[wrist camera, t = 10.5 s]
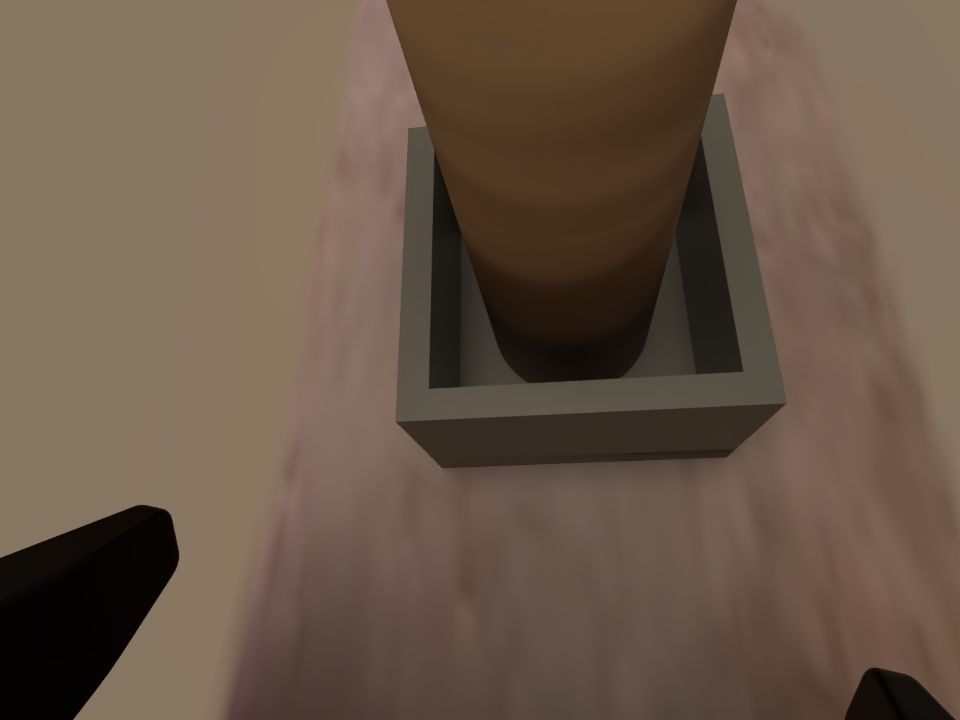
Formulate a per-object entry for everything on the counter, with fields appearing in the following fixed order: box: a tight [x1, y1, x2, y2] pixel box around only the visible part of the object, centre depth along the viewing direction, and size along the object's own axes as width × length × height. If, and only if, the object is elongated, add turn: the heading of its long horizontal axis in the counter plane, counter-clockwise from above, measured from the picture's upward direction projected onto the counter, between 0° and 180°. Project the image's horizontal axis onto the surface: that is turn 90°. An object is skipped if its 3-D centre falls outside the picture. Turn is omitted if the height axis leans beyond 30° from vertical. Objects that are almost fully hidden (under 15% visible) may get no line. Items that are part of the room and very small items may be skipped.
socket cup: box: [396, 94, 787, 468], centre depth 16 cm, size 8×8×5 cm
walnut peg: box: [386, 0, 737, 383], centre depth 11 cm, size 4×4×13 cm
